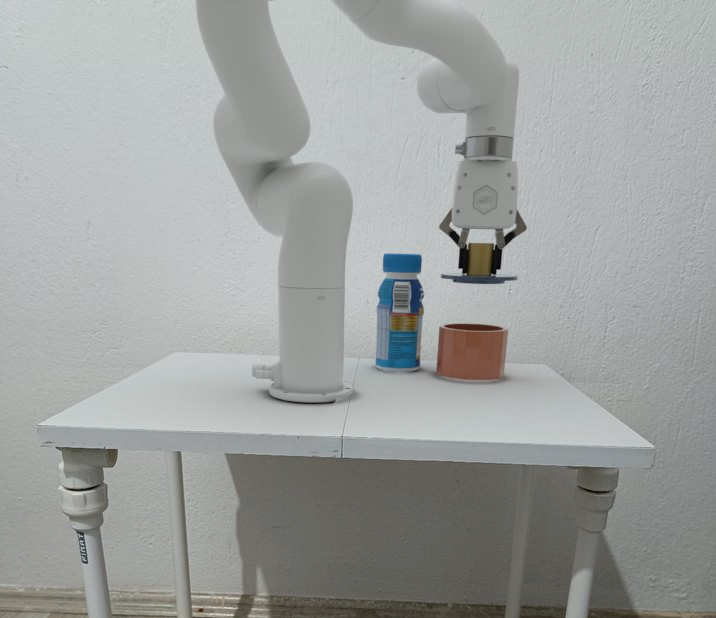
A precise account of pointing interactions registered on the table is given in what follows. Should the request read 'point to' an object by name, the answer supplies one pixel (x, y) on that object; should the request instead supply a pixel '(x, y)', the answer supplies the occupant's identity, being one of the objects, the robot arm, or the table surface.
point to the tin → (471, 351)
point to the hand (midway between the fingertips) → (478, 272)
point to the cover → (479, 267)
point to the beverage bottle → (400, 314)
